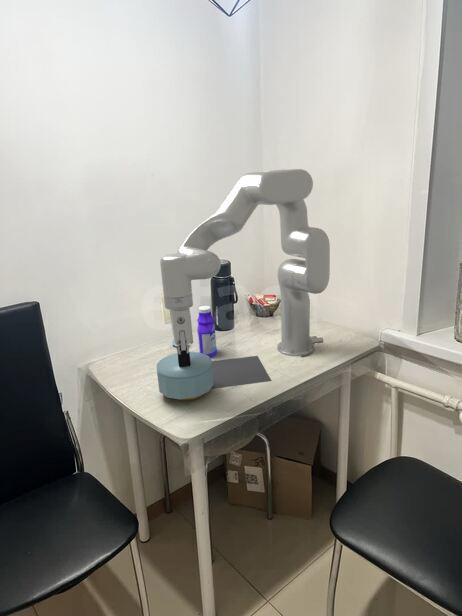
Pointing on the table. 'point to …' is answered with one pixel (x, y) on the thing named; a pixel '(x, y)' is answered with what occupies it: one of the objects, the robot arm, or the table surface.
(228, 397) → the table surface
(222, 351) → the table surface
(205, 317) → the bottle
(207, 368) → the squat blue cylinder
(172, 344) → the pacifier
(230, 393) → the table surface
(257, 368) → the mat
